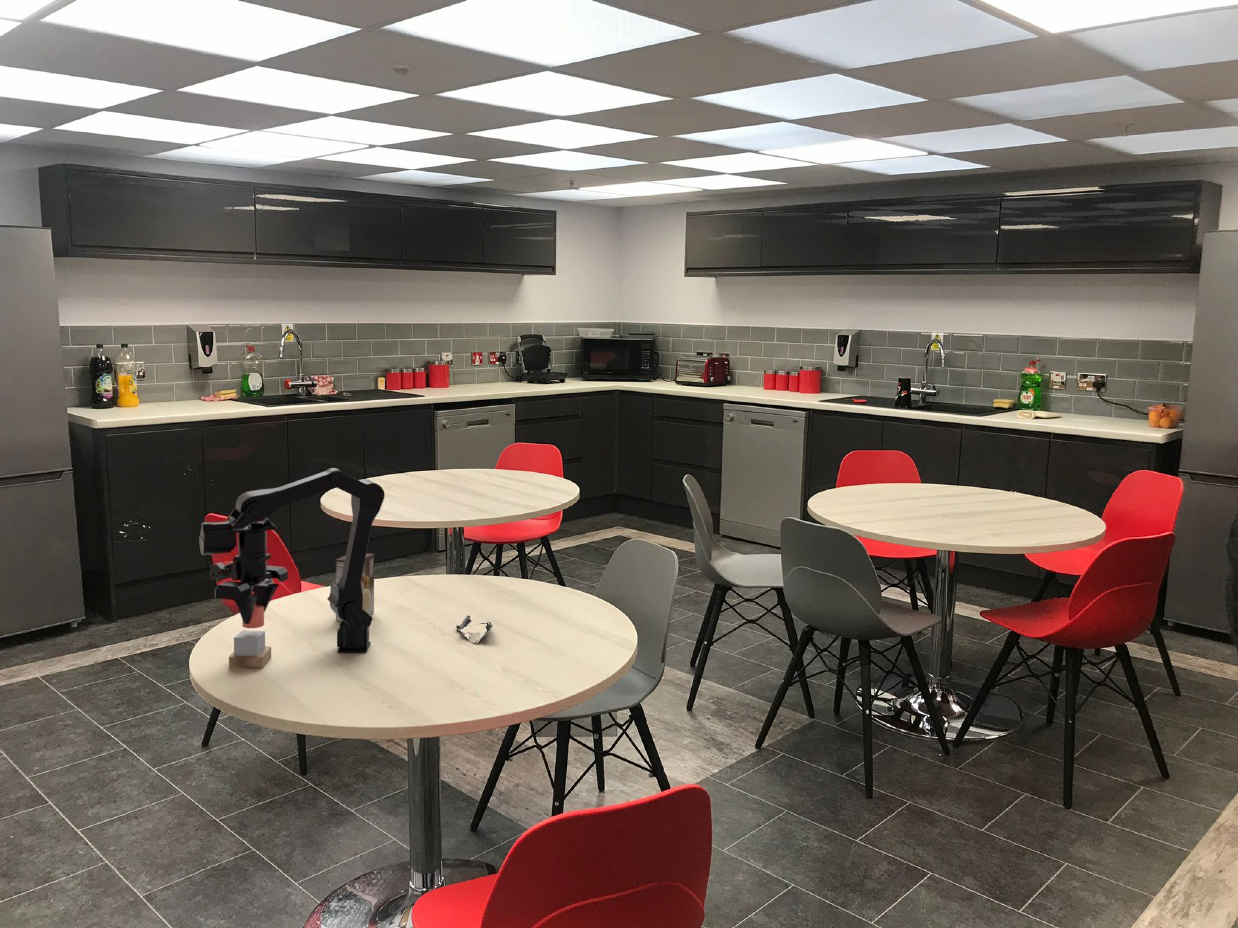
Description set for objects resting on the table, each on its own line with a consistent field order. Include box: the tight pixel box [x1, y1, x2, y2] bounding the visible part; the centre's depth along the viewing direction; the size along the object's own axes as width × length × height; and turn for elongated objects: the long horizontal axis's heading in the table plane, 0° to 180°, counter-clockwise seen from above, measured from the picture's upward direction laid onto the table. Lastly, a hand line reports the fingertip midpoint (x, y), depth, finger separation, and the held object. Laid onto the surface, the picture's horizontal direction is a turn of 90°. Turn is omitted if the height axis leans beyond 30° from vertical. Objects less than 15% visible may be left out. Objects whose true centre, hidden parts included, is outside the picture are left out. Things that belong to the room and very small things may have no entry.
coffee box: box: [335, 553, 375, 622], centre depth 239 cm, size 9×6×16 cm
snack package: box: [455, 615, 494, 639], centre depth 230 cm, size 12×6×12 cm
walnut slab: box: [228, 645, 272, 670], centre depth 204 cm, size 7×7×3 cm
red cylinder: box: [241, 605, 265, 629], centre depth 203 cm, size 4×4×4 cm
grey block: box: [233, 630, 266, 656], centre depth 204 cm, size 5×5×4 cm
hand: (253, 620), depth 203 cm, fingers closed on red cylinder, 4 cm apart
